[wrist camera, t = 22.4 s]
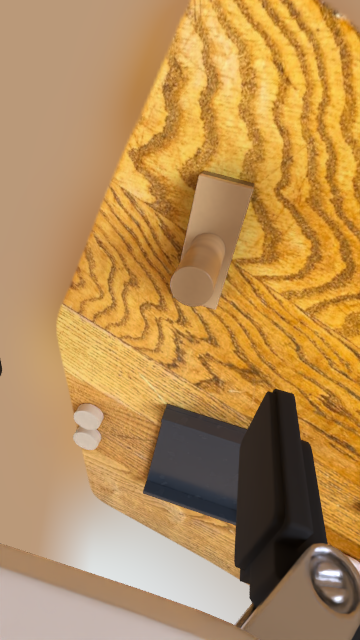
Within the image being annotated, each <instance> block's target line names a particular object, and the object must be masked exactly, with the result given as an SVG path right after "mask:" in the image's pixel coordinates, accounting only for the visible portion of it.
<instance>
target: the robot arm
mask: <svg viewBox="0 0 360 640" xmlns="http://www.w3.org/2000/svg"><path fill="white" fill-rule="evenodd" d="M1 373H2V366H1V361H0V375H1ZM234 561H235V566H236V567H238V568H240V581H242V582H245V583H248V584H250V599H251V601H252V604H251V605H250V607H249V608H248V609H247V610H246V612H245V613H244V614H243V615H242V616H241V617H240V619H239V620H238V621H237V622H236V623H235V625H233V624H231V623H229V622H226V621H224V620H222V619H219V618H217V617H214V616H212V615H210V614H207V613H205V612H202V611H200V610H197V609H194V608H191V607H188V606H186V605H183V604H180V603H177V602H174V601H171V600H168V599H166V598H163V597H160V596H157V595H154V594H152V593H149V592H146V591H143V590H140V589H137V588H134V587H131V586H128V585H125V584H122V583H119V582H116V581H113V580H110V579H107V578H104V577H101V576H98V575H95V574H92V573H89V572H86V571H83V570H80V569H77V568H74V567H71V566H68V565H65V564H62V563H58V562H55V561H53V560H50V559H47V558H43V557H40V556H37V555H34V554H31V553H28V552H25V551H22V550H19V549H16V548H13V547H10V546H7V545H3V544H1V543H0V640H360V574H359V572H358V570H357V568H356V567H355V566H354V564H353V563H352V562H351V561H350V559H349V558H348V557H347V556H346V555H344V554H343V553H342V552H341V551H340V550H338V549H336V548H335V547H333V546H331V545H328V544H327V538H326V532H325V526H324V520H323V514H322V508H321V502H320V496H319V490H318V484H317V478H316V472H315V466H314V460H313V454H312V449H311V446H310V444H309V443H308V442H306V441H303V440H301V439H300V431H299V424H298V417H297V410H296V402H295V397H294V394H292V393H288V392H285V391H281V390H278V389H275V390H274V391H273V392H267V393H266V395H265V397H264V399H263V401H262V403H261V404H260V406H259V408H258V410H257V412H256V414H255V416H254V418H253V420H252V422H251V424H250V426H249V428H248V430H247V432H246V434H245V436H244V438H243V439H242V442H241V445H240V451H239V471H238V493H237V515H236V536H235V560H234Z"/></svg>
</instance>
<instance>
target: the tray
mask: <svg viewBox="0 0 360 640" xmlns="http://www.w3.org/2000/svg"><path fill="white" fill-rule="evenodd" d="M161 422H162V424H161V428H160V432H159V436H158V439H157V443H156V447H155V451H154V455H153V458H152V462H151V466H150V470H149V474H148V478H147V481H146V484H145V487H144V490H143V493H144V494H147V495H150V496H152V497H155V498H158V499H161V500H164V501H167V502H170V503H173V504H176V505H178V506H181V507H184V508H187V509H190V510H193V511H196V512H199V513H202V514H204V515H207V516H210V517H213V518H216V519H219V520H222V521H225V522H228V523H231V524H233V525H236V515H237V493H238V471H239V451H240V445H241V442H242V439H243V438H244V436H245V434H246V432H247V429H244V428H241V427H238V426H235V425H231V424H228V423H225V422H222V421H219V420H216V419H213V418H210V417H207V416H203V415H200V414H197V413H194V412H191V411H188V410H185V409H182V408H178V407H175V406H172V405H169V404H167V406H166V408H165V411H164V414H163V417H162V420H161Z"/></svg>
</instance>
